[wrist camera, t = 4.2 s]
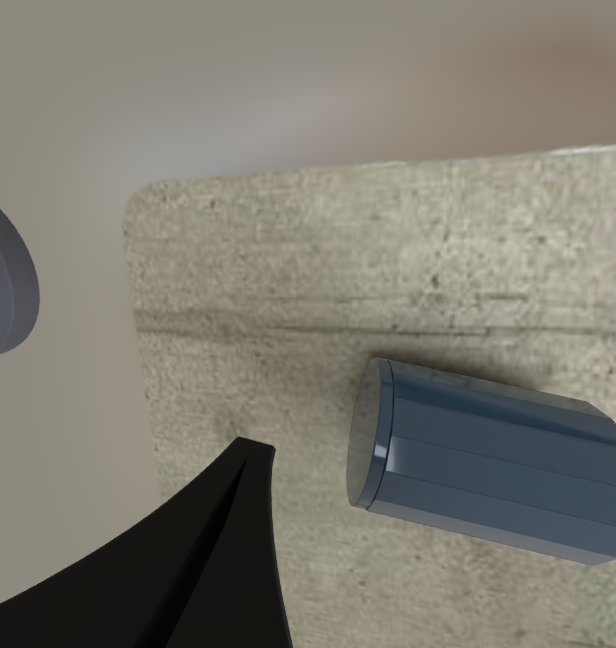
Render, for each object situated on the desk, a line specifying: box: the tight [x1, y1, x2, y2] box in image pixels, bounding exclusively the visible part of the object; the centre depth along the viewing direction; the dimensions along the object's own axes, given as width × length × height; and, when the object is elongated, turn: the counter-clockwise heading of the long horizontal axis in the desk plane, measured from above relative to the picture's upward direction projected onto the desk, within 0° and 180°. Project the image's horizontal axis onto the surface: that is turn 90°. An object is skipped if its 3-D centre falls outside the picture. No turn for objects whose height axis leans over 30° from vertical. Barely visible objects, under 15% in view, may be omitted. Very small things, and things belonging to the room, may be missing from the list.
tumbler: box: [346, 357, 616, 566], centre depth 13 cm, size 6×6×9 cm
